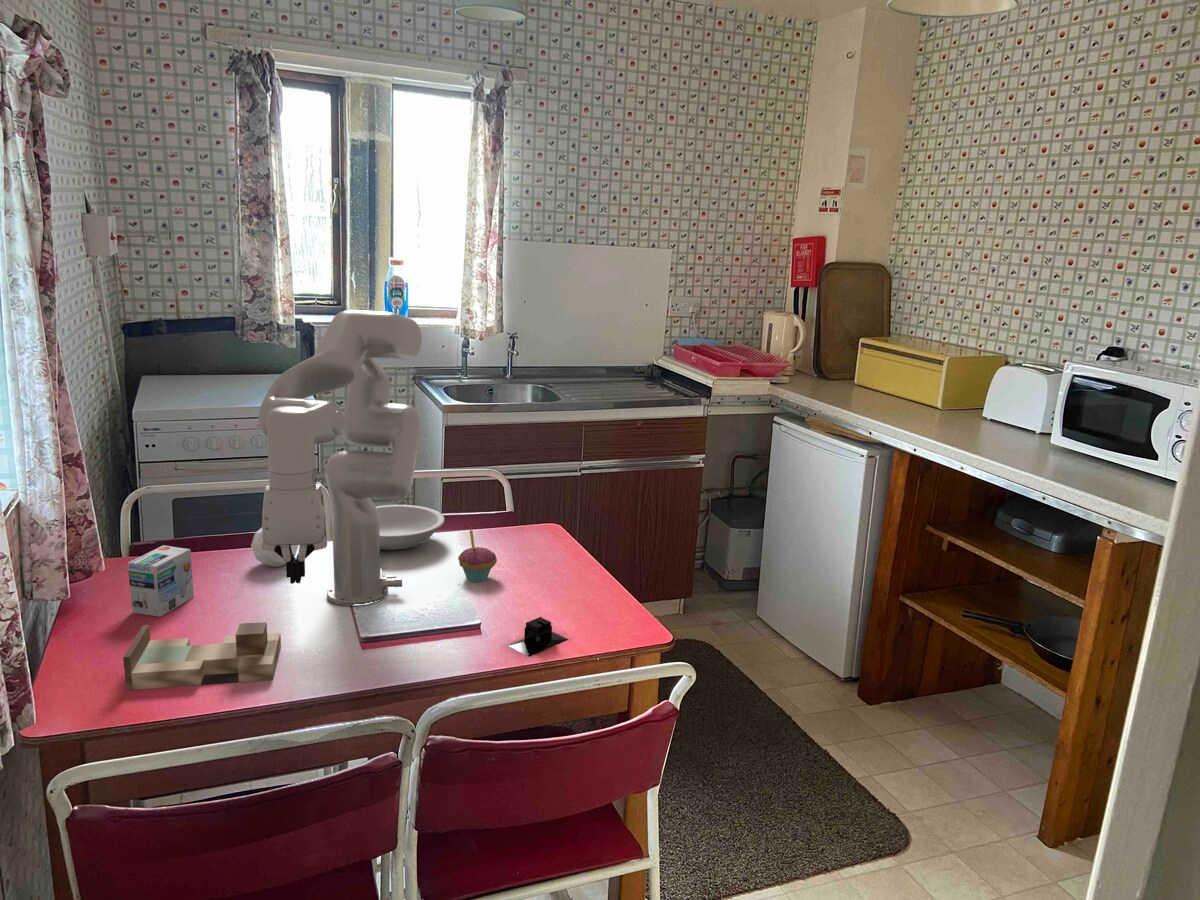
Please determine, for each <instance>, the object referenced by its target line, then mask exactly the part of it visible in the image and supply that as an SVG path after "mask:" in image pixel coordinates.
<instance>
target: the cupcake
mask: <svg viewBox="0 0 1200 900" xmlns="http://www.w3.org/2000/svg"><path fill="white" fill-rule="evenodd" d="M469 536H470V543H471V547H469V548H466V549H465V550H463V551H462V552H461V553H460V554H459V555H458V558H457V561H458V563H459V566H460V567H461V568H462V570H463V572H464V575H465V578H466V580H467V581H469V582H471V583H482V582H486V581H487V580H488V578H489V575H490V572H491V570H492V569H493V567H494V566H495V565H496V564H497V560H498V559H497V555H496V554H495V552H494V551H492V550H491V549H489V548H487V547H482V546H481V547H479V546H477V547H475V546H476V545H475V539H474V530H473V529H472V527H471V526H469Z"/></svg>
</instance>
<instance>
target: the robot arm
mask: <svg viewBox="0 0 1200 900" xmlns="http://www.w3.org/2000/svg"><path fill="white" fill-rule="evenodd" d="M326 329H327V330H325V333H324V335H323V337H322V338H321V341H320V342H319V345H318V346H317V348H316V351H315V353H314V355H313V356H311V357H309V358H307V359H304V360H302V361H300V362H299V363H297V364H295V365H294V366H291V368H289V369H287V370H285V371H283V373H281V374H279V375H278V376H277V377H276V379H274V380H273V382H272V383H271V384H270V386H269V389H268V390H267V392H266V394H265V396H264V398H263V400H262V401H261V405H260V407H259V410H258V417H257V421H258V422H257V423H258V428H259V430H260V432H261V433H262V434H263V435H264V436H266V438H267V440H266V441H267V462H268V464H267V465H268V485H266V486H265V488H264V492H263V493H264V494H263V502H262V515H261V516H262V519H261V520H262V521H261V528H262V537H263V543H262V549H263V550H266V551H271V552H276V553H277V554H278V555H279V556H281V557H282V558H283V560H284V561H285V562H286V564H285V574H286V575H285V576H286V578H289V582H290V583H289V584H291V585H293V584H295V583H296V584H301V581H302V578H304V577H305V576H306V559H307V558H308V557H309V556H310V555H311V554H312V553H313V552H314V551H320V550H322V549H323V550H324V549H326V548H327V547H328V541H327V537H326V532H327V531H326V528H327V527H326V512H325V502H324V501H325V500H324V494H323V490H322V486H321V484H319V483H318V482H320V481H325V480H326V484H327V488H328V494H329V497H330V508H331V522H332V524H331V526H332V552H333V555H332V556H333V557H332V558H333V584H331V586H330V587H328V588H327V590H326V598H327V600H328V601H329V602H331V603H333V604H335V605H339V606H345V607H353V606H352V605H354V604H365V603H370V602H375V601H378V600H380V601H382V600H384V599H385V598H386V597H387V596H388V594H389V588H402V587H403V577H397V574H390V575H386V574H383V569H382V568H381V549H380V520H379V513H378V511H377V508H376V505H375V503H374V502H373V501H372V499H383V500H384V499H385V500H400V499H401V500H402V499H405V498H406V497H407V496H408V495H409V493H410V492H411V489H412V487H413V482H414V476H415V470H416V463H417V457H418V449H419V444H420V435H421V419H420V415H419V412H418V411H417V410H416V408H414V407H413V406H412V405H409V404H406V403H405V404H404V403H394V402H392V403H391V402H390V394H391V390H392V383H391V379H390V377H389V376H388V375H387V373H386V371H385V370H384V368H383V367H382V366H381V365H380V364H379V363H378V361H377V359H388V360H413V359H414V358H415V357H417V356H418V354H419V353H420V351H421V348H422V345H423V344H422V341H423V339H422V331H421V328H420V326H419V325H418V323H417V322H416V321H415V320H413V319H412V318H409V317H407V316H403V315H402V314H398V313H395V312H391V311H390V312H389V311H380V310H379V311H378V310H362V309H361V310H360V309H349V310H347V309H346V310H343V311H340V312H338V313H337V314H336V315H335V316H334V317H333V318H332V320H331V321H330V323H329V326H328V327H327V328H326ZM347 386H348V392H347V397H346V403H345V407H344V408H345V409H344V412H343V409H342V408H341V406H339V405H338V404H337V403H335V402H333V401H329V400H324V399H310V398H309V397H312V396H315V395H320V394H325V393H329V392H333V391H335V390H339V389H342V388H344V387H347ZM341 433H342V437H343V440H345V442H346V443H348V444H349V445H352V446H356V447H363V448H364V447H365V448H378V449H389V450H390V449H391V450H392V451H391V452H386V451H385V452H384V451H382V452H381V451H372V450H360V449H359V450H357V449H356V450H355V449H347V450H346V449H345V450H340V451H337V452H334V453H333V454H332V455H331V456H330V457H329V458H328V460H327V461H326V465H325V472H321V471H318V469H317V467H316V447H315V445H319V444H326V443H330V442H332V441H334V440H335V439H337V438H338V437H339V436H340V434H341ZM371 498H372V499H371ZM291 545H298V553H296V556H294V554H293V553H292V549H291ZM305 578H306V577H305ZM384 597H385V598H384ZM383 598H384V599H383ZM381 599H382V600H381ZM378 602H379V601H378Z"/></svg>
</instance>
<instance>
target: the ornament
mask: <svg viewBox="0 0 1200 900" xmlns="http://www.w3.org/2000/svg"><path fill="white" fill-rule="evenodd" d="M262 543H263V537H262V527H260V528H259V529H258V530H257V531H256V532H254V534H253V538H252V542H251V545H250V547H251V550H252V552H253V555H254V557H255V559H256V560H257V561H259V562H260V563H262V564H263V565H265V566H267V567H274V568H277V567H281V566H283V565H286V562H285V561H284V560H283V558H282V557H281V556H279V555H278V554H277V553H276V552H271V551H266V550H263V549H262ZM291 549H292V553H293V554H294V557H296V556H297V551H298V550H299V545H291Z"/></svg>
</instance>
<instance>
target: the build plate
mask: <svg viewBox="0 0 1200 900" xmlns="http://www.w3.org/2000/svg"><path fill="white" fill-rule="evenodd" d="M523 635H524V637H523V639H521V640H518V641H515V642H514V643H511V644H508V647H510V648H512V649H514V650H515V651H517V652H519V653H521V654H522V655H524V656H526V657H528V658H529V657H532V656H534V655H536V654H539V653H541V652H544V651H545V650H548V649H551V648H553V647H556V646H557V645H560V644H562V643H564V642H566V641H569V639H568V638H566V637H565V636H562V635H560V634H557V633H556V632H554V631H553V626H552V622H551V621H550V620H548V619H546V618H543V617H541V616H539V617H537V618H534V619H531V620H530V621H527V622H525V627H524V633H523Z"/></svg>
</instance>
